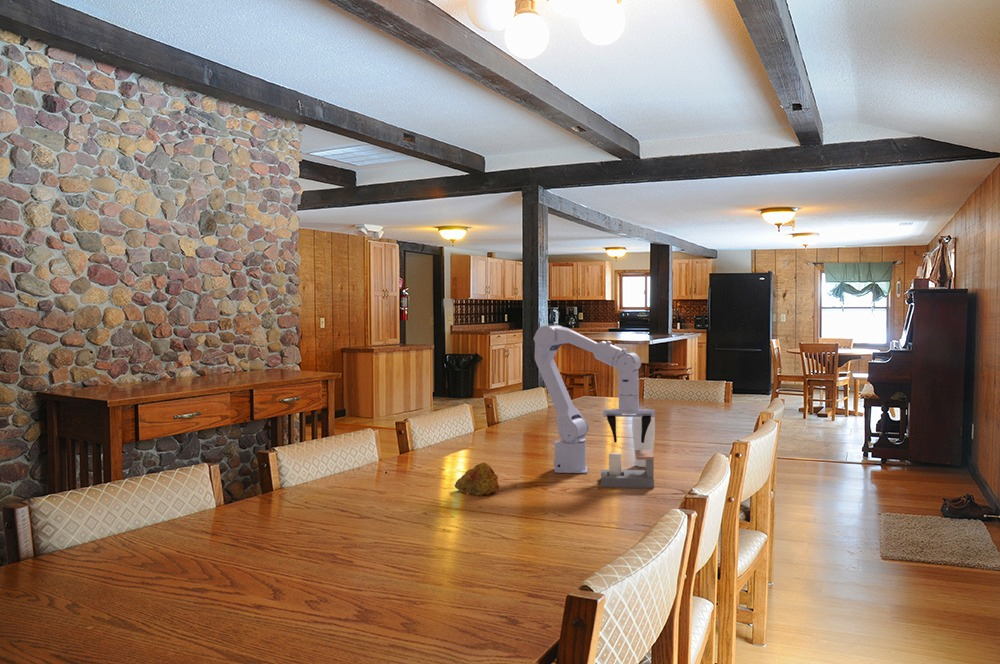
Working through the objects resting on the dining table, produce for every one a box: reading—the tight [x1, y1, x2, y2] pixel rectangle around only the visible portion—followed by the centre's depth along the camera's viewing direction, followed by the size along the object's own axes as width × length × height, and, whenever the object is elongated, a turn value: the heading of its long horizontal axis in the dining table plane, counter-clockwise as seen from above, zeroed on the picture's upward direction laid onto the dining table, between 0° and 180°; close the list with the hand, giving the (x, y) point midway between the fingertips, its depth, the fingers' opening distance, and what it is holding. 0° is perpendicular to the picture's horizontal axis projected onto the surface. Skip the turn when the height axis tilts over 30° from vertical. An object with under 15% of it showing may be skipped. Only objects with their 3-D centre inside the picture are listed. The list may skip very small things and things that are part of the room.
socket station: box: [600, 450, 655, 489], centre depth 200 cm, size 14×10×8 cm
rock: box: [454, 462, 500, 496], centre depth 193 cm, size 11×8×10 cm
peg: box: [608, 452, 622, 476], centre depth 201 cm, size 3×3×8 cm
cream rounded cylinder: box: [631, 416, 656, 468], centre depth 221 cm, size 7×7×15 cm
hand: (628, 442), depth 208 cm, fingers open, 7 cm apart
